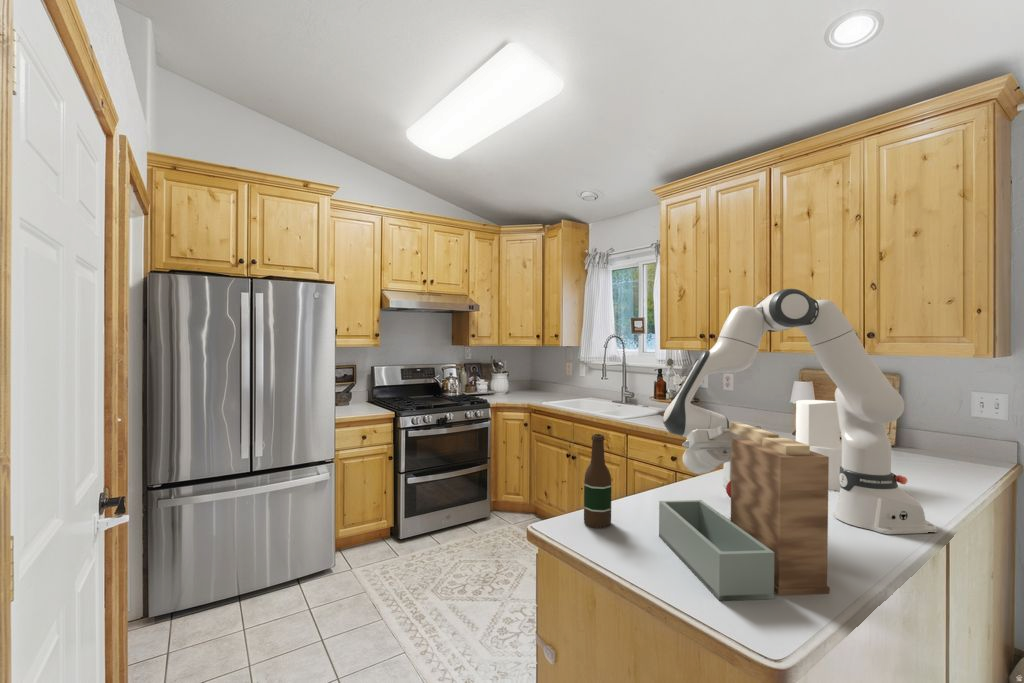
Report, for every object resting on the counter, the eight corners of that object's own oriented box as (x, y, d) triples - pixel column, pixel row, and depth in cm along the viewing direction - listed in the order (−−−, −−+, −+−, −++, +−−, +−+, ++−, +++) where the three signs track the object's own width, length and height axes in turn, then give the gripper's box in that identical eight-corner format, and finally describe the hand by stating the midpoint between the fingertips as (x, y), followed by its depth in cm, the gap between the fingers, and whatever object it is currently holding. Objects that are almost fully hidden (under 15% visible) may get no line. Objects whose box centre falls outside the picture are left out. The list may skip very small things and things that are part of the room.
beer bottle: (605, 531, 125) (606, 439, 125) (578, 525, 129) (578, 435, 129) (616, 521, 132) (616, 434, 131) (589, 516, 136) (590, 431, 136)
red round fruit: (749, 506, 145) (749, 479, 145) (728, 504, 146) (728, 478, 146) (743, 499, 150) (744, 474, 150) (724, 498, 152) (724, 472, 151)
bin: (658, 536, 122) (659, 500, 122) (700, 535, 123) (701, 500, 123) (719, 600, 92) (719, 554, 92) (773, 598, 93) (774, 552, 93)
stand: (728, 552, 113) (729, 437, 113) (771, 551, 114) (772, 437, 113) (778, 595, 94) (780, 457, 94) (829, 593, 95) (831, 457, 95)
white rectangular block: (784, 479, 173) (785, 401, 172) (815, 473, 180) (816, 398, 180) (833, 493, 157) (835, 407, 157) (865, 487, 164) (866, 405, 164)
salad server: (724, 431, 121) (724, 421, 121) (743, 431, 121) (743, 421, 121) (786, 454, 97) (786, 442, 97) (809, 454, 97) (809, 442, 97)
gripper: (677, 435, 130) (698, 417, 118) (749, 434, 131) (777, 416, 119) (682, 458, 127) (704, 442, 115) (756, 457, 128) (785, 441, 116)
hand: (742, 429), depth 117 cm, fingers open, 8 cm apart
